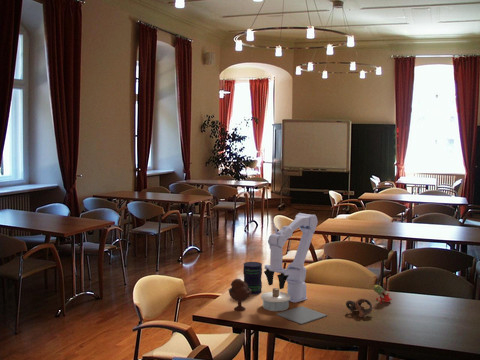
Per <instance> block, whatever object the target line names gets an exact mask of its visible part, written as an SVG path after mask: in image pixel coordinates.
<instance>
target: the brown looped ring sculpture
mask: <svg viewBox="0 0 480 360" xmlns="http://www.w3.org/2000/svg"><path fill="white" fill-rule="evenodd" d="M363 303H366V304H367V305H369V308H365V307H364V306H363V305H362V304H363ZM345 306H346V308H347V309H348V310H349V311H350V313H354V312H355V311H358V313H359V314H358V317H360V318H362V317H364V316H367V315H370V314H371V313H372V311H373V305H372V303H371V302H370V300H368V299H365V298H363V297H362V298H358V299H357V300H355V301H353V300H347V301H346V302H345Z"/></svg>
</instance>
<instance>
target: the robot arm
mask: <svg viewBox="0 0 480 360" xmlns="http://www.w3.org/2000/svg"><path fill="white" fill-rule="evenodd" d="M318 221H319V220H318V218H317V216H316V214H307V213H302V212H299V213H297V214H296V215H295V217H294V219H293V220H292V221H291V223H289V225H284V226H282V228H280V229H279V231H277V232H275V233H271V234H270V235H269V236H268V240H267V243H268V245H269V250H270V258H269V259H270V262H269V263H270V264H265V265H264V271H263V273H264V275H265V277H266V280H267V283H268V286H273V284H274V275H275V273H278V274H277V279H278V289H279V290H282V289H284V288H285V284H286V283H287V291H286V292H287V294H289V295H290V300H289V302H291V303H295V304H296V303H299V302H303V301H305V300H308V297H307V284H306V282H305V281H306V277H307V269H306V267H305V261H306V258H307V254H308V252H309V248H310V246H311V242H312V239H313V237H314V234H315V231H316V229H317V226H318V223H319V222H318ZM297 229H299V230H300V231H301V233H302V234H301V238H300V239H299V244H298V247H297V250H296V253H295V256H294V258H293V261H292V262H290V263H289V264H288V265H287V268H283V247H284V246H285V244H286V242H287V240H288V239H290V238H291V237H292V236H293V232H294V231H296V230H297Z"/></svg>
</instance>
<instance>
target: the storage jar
mask: <svg viewBox="0 0 480 360" xmlns="http://www.w3.org/2000/svg"><path fill="white" fill-rule="evenodd" d="M262 274H263V264H262V263H261V262H259V261H247V262H244V263H243V280H242V281H243V282H245V283H246V284H247V285H248V288H250V289H251V295H253V296H254V295H260V294H261V293H262V292H263V291H262V289H263V288H262V287H263V283H262V282H263V281H262V276H263V275H262ZM251 295H250V296H251Z"/></svg>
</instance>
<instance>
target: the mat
mask: <svg viewBox="0 0 480 360" xmlns="http://www.w3.org/2000/svg"><path fill="white" fill-rule="evenodd" d="M275 315H276V316H278V317H281V318H283V319H286V320H289V321H291V322H293V323H296V324H299V325H301V326H302V325H304V324H307V323H310V322H313V321H317V320H320V319H322V318H323V319H324V318H325V317H327V316H328V315H327V314H326V313H321V312H319V311H316V310H313V309H311V308H309V307H305V306H303V305H301V306H300V305H299V306H297V307H294V308H291V309H287V310H283V311H279V312H276V313H275Z"/></svg>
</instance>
